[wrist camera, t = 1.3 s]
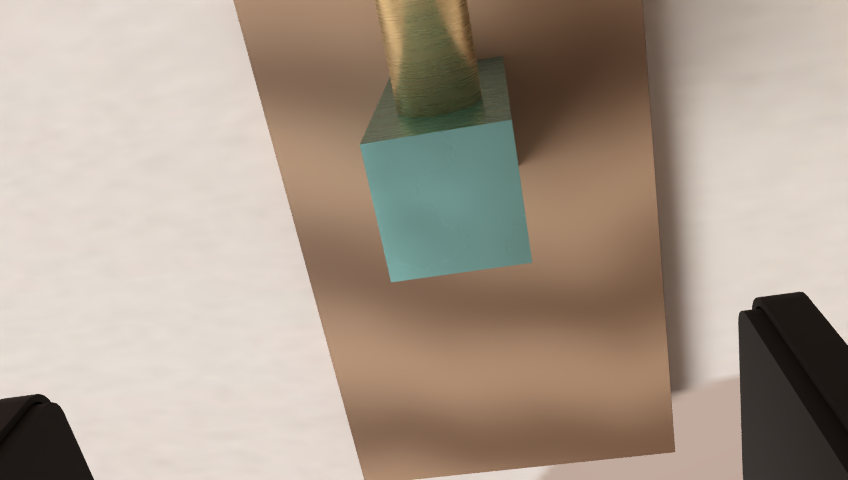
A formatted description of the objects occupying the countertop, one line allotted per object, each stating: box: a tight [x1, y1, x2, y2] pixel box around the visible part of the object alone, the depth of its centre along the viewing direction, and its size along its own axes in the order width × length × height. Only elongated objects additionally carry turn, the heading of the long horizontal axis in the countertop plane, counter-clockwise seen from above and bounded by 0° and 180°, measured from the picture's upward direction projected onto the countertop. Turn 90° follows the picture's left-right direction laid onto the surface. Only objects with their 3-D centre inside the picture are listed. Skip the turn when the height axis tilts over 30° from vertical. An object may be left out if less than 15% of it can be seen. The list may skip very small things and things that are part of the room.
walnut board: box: [234, 0, 675, 480], centre depth 25 cm, size 31×12×1 cm, turn 11°
